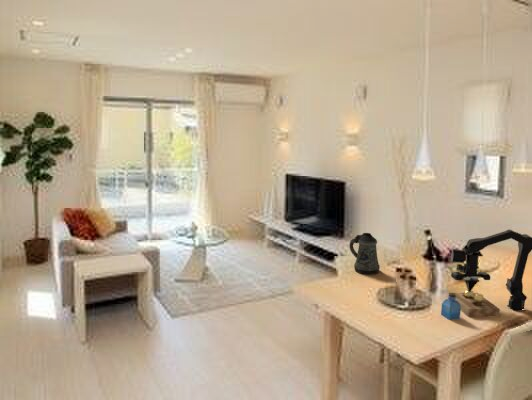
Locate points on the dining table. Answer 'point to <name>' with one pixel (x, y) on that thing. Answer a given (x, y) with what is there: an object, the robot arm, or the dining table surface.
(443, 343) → the dining table surface
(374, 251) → the beer stein
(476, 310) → the socket board
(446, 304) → the perfume bottle
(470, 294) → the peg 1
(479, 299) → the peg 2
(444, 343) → the dining table surface
